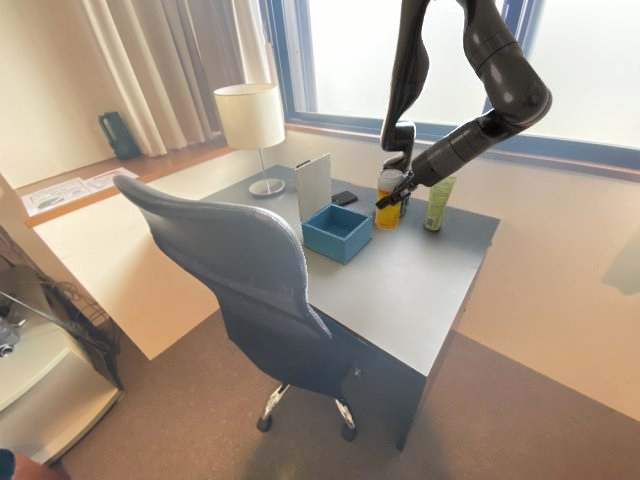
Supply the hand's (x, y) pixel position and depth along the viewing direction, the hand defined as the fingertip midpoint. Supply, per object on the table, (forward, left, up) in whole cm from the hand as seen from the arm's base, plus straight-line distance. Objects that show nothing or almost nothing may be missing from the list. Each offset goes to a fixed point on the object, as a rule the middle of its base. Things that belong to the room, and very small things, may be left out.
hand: (382, 200), depth 70 cm
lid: (-2, -24, -3) cm, 25 cm away
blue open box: (-2, -16, -22) cm, 27 cm away
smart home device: (-23, -33, -22) cm, 46 cm away
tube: (-28, +7, -22) cm, 36 cm away
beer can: (0, +2, -7) cm, 8 cm away
